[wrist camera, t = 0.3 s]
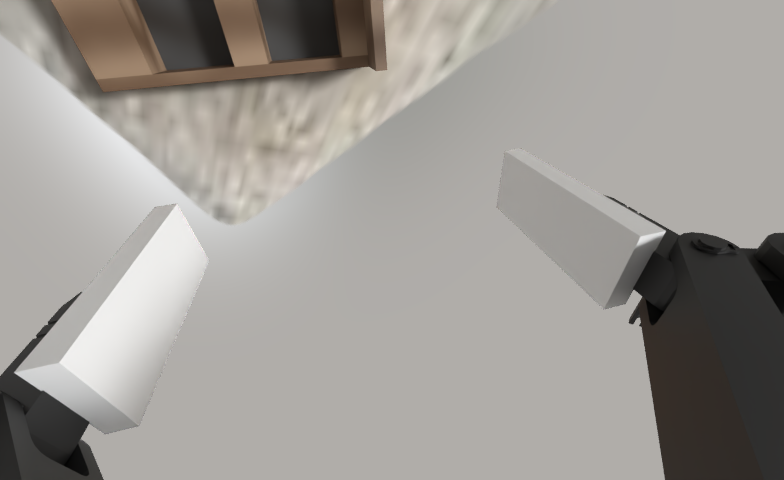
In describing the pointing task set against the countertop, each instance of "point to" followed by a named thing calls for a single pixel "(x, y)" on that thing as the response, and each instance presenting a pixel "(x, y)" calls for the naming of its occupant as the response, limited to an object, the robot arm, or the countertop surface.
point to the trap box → (221, 38)
